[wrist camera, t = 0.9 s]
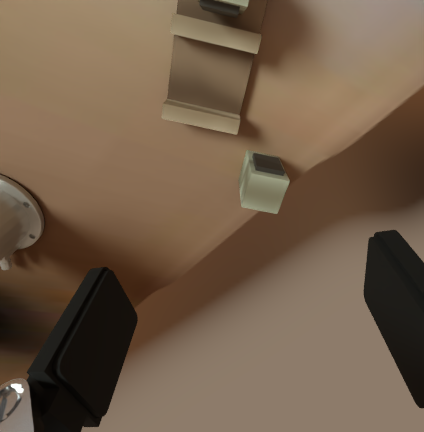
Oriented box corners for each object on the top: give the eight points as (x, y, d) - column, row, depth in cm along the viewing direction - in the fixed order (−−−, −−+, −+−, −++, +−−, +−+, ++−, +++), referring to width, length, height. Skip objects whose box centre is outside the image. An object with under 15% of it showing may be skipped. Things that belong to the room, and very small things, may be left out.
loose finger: (268, 185, 36) (277, 213, 30) (238, 179, 36) (241, 207, 30) (279, 152, 34) (291, 176, 28) (247, 146, 34) (253, 168, 28)
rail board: (235, 126, 32) (238, 149, 26) (167, 111, 32) (151, 130, 25) (283, -69, 24) (307, -112, 17) (190, -94, 23) (175, -150, 16)
